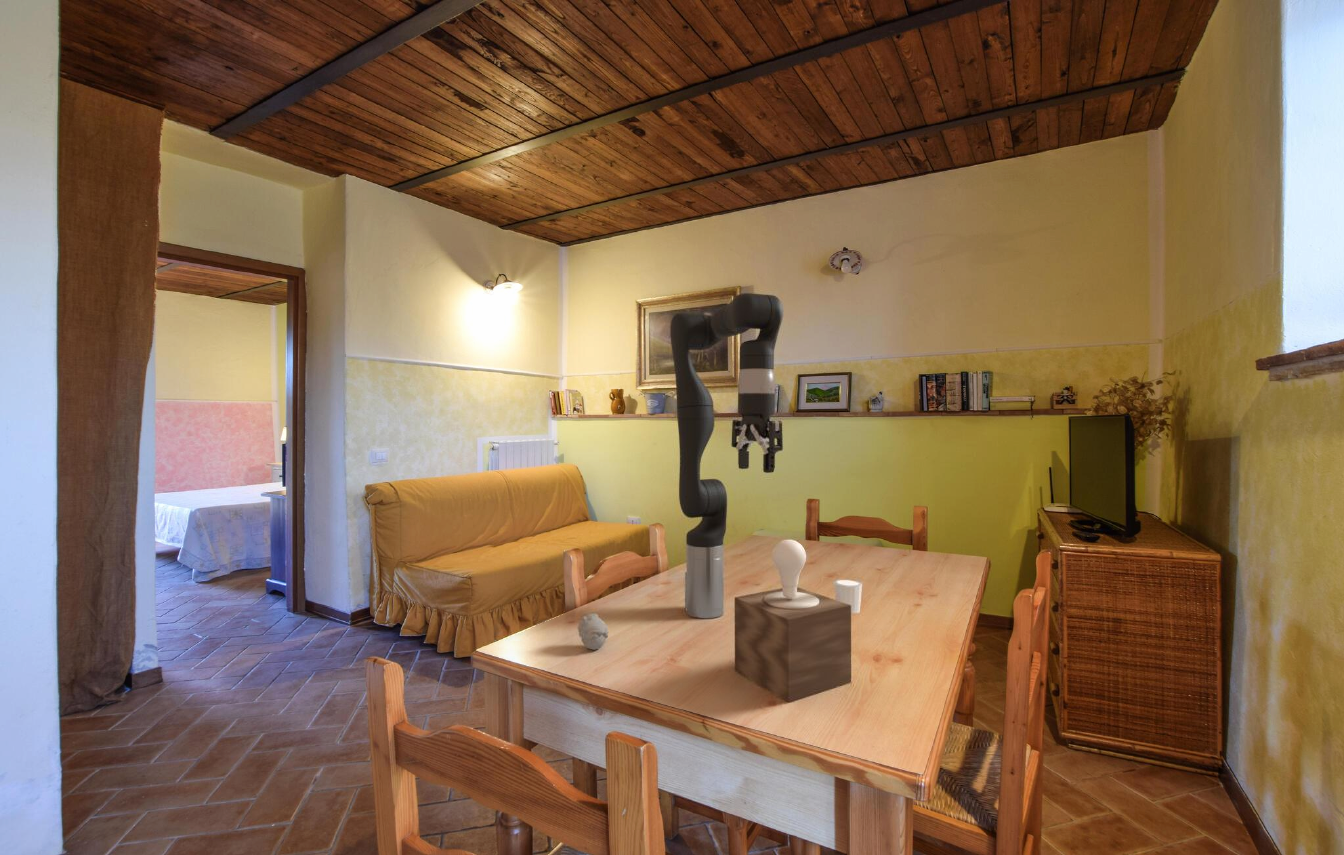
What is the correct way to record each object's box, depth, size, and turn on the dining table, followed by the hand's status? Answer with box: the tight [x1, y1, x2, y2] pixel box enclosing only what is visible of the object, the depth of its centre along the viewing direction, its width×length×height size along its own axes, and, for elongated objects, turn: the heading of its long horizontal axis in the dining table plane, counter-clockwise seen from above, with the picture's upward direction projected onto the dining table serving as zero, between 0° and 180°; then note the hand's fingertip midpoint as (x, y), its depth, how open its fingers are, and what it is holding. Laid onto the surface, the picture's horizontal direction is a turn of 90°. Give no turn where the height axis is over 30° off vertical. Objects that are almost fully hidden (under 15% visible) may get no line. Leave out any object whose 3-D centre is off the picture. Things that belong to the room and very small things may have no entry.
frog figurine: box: [577, 613, 609, 651], centre depth 123 cm, size 6×7×7 cm
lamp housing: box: [734, 586, 852, 704], centre depth 109 cm, size 15×15×14 cm
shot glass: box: [833, 579, 863, 615], centre depth 148 cm, size 7×7×7 cm
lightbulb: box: [772, 539, 807, 599], centre depth 109 cm, size 6×6×11 cm
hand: (755, 470), depth 121 cm, fingers open, 8 cm apart
